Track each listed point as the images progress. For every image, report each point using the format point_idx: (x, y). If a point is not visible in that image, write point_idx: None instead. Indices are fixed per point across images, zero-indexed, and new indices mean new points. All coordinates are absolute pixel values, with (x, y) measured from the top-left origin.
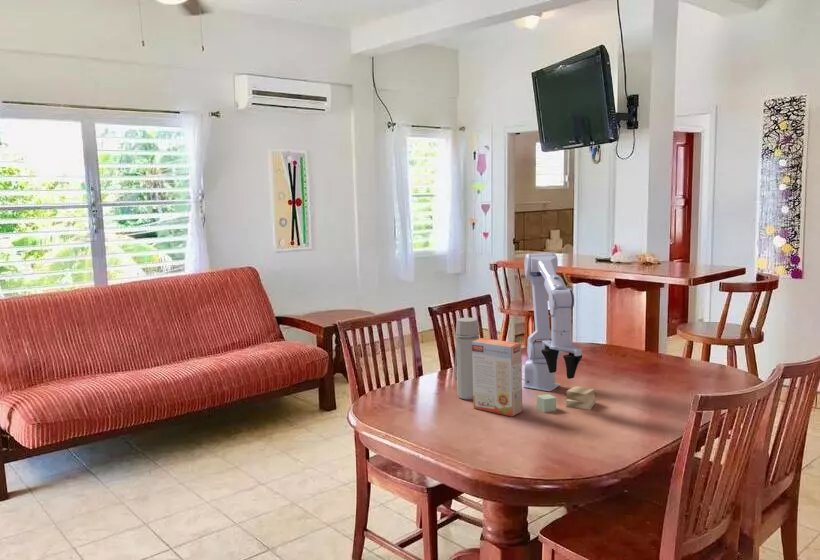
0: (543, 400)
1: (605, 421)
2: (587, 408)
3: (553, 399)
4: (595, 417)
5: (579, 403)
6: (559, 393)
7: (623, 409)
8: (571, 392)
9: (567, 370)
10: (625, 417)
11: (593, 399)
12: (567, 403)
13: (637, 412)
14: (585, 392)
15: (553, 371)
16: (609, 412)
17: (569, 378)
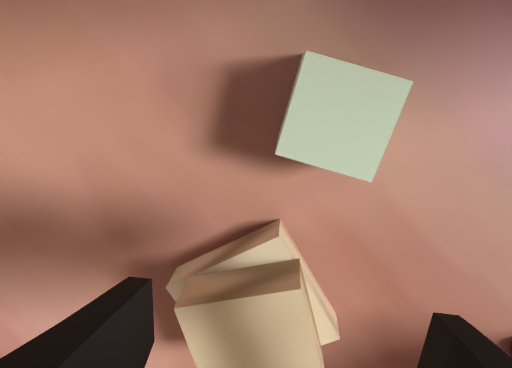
0: (312, 52)
1: (14, 189)
2: (187, 264)
3: (281, 132)
4: (79, 199)
5: (216, 261)
6: None
7: None
8: (264, 290)
9: (67, 334)
10: (19, 287)
11: None
12: (274, 230)
13: None
14: (197, 334)
15: (427, 356)
16: (101, 292)
17: (123, 281)
